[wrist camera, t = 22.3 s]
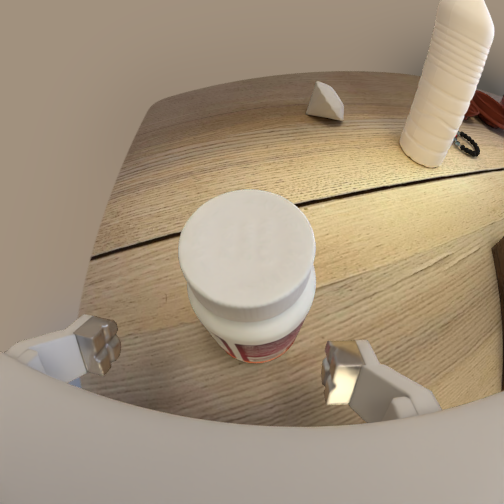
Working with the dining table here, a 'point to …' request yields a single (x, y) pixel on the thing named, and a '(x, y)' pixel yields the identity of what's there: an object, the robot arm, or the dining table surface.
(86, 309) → the dining table surface
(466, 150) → the bracelet
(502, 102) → the kitchen canister
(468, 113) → the pottery
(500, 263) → the chest
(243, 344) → the pill bottle
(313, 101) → the gemstone
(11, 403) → the robot arm
